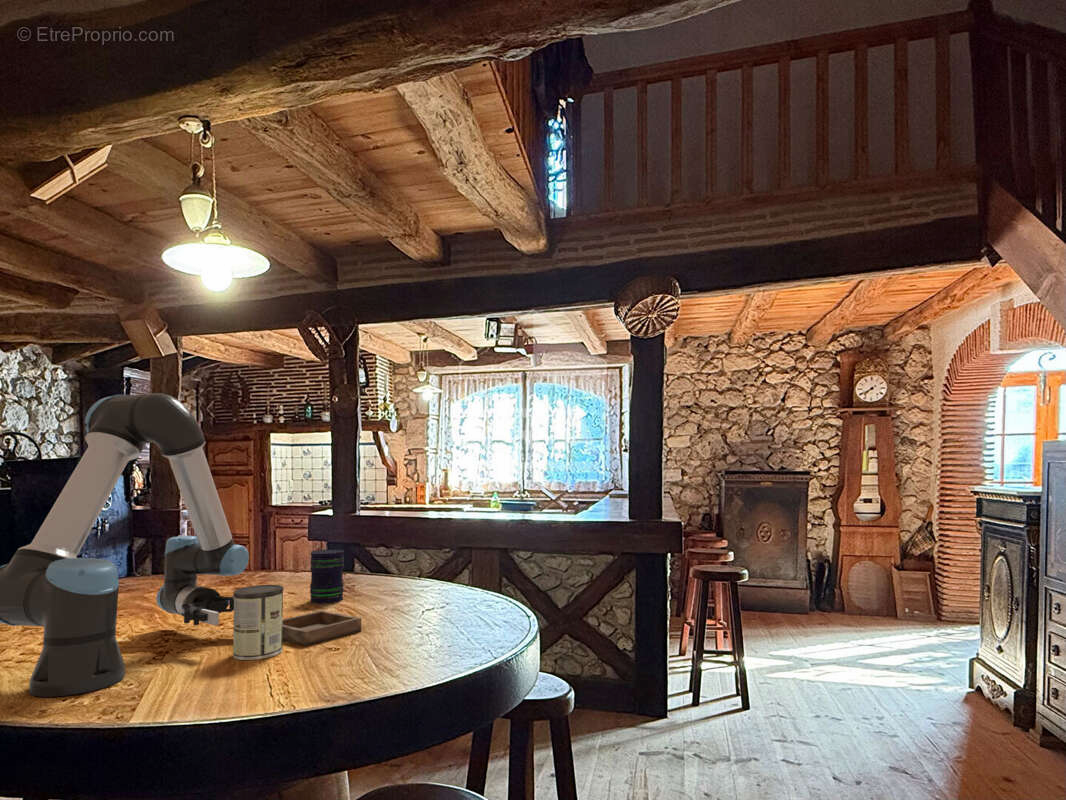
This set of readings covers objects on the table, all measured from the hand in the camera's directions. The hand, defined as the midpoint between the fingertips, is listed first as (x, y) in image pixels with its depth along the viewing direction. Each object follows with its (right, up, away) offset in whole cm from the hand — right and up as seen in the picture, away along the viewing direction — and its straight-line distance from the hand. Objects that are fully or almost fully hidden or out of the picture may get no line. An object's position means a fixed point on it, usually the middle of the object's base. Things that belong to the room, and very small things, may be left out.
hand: (246, 612), depth 149 cm
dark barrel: (+2, -13, +50) cm, 52 cm away
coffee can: (+5, -8, -5) cm, 10 cm away
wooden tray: (+12, -9, +11) cm, 18 cm away
